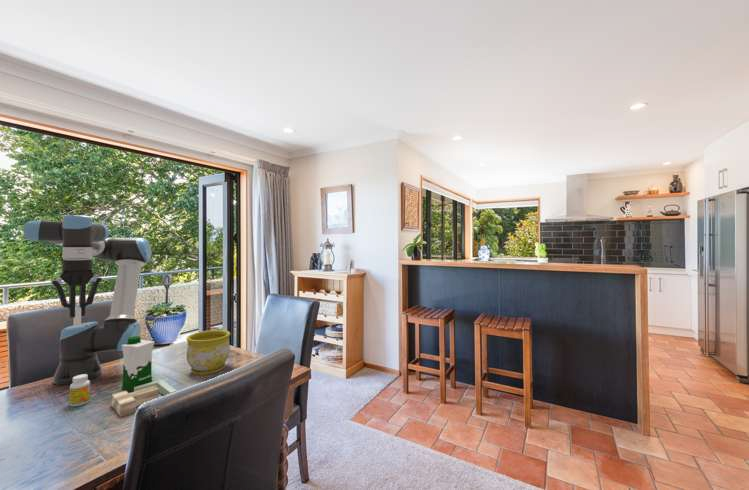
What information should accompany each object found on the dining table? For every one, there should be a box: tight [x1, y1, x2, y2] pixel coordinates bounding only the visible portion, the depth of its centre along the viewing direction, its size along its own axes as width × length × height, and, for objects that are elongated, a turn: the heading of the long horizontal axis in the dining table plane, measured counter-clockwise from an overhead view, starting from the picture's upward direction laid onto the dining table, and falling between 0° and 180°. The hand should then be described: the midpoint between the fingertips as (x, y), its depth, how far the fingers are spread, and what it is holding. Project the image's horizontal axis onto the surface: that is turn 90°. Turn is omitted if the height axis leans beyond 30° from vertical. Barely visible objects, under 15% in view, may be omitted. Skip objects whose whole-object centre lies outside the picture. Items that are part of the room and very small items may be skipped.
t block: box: [111, 386, 160, 418], centre depth 110 cm, size 12×12×4 cm
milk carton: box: [121, 336, 155, 392], centre depth 124 cm, size 9×9×20 cm
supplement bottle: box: [68, 374, 91, 407], centre depth 111 cm, size 5×5×10 cm
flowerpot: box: [186, 329, 231, 376], centre depth 142 cm, size 18×18×16 cm
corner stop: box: [133, 379, 177, 396], centre depth 116 cm, size 16×9×3 cm, turn 53°
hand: (77, 325), depth 107 cm, fingers closed
